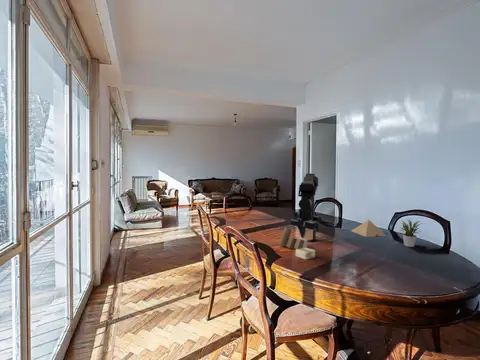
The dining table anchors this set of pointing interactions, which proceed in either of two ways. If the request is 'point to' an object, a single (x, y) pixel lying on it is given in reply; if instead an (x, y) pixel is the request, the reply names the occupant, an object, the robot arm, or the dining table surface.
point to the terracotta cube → (307, 235)
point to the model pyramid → (368, 230)
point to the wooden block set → (290, 240)
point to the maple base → (305, 253)
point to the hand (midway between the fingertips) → (305, 237)
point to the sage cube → (303, 244)
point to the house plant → (410, 233)
